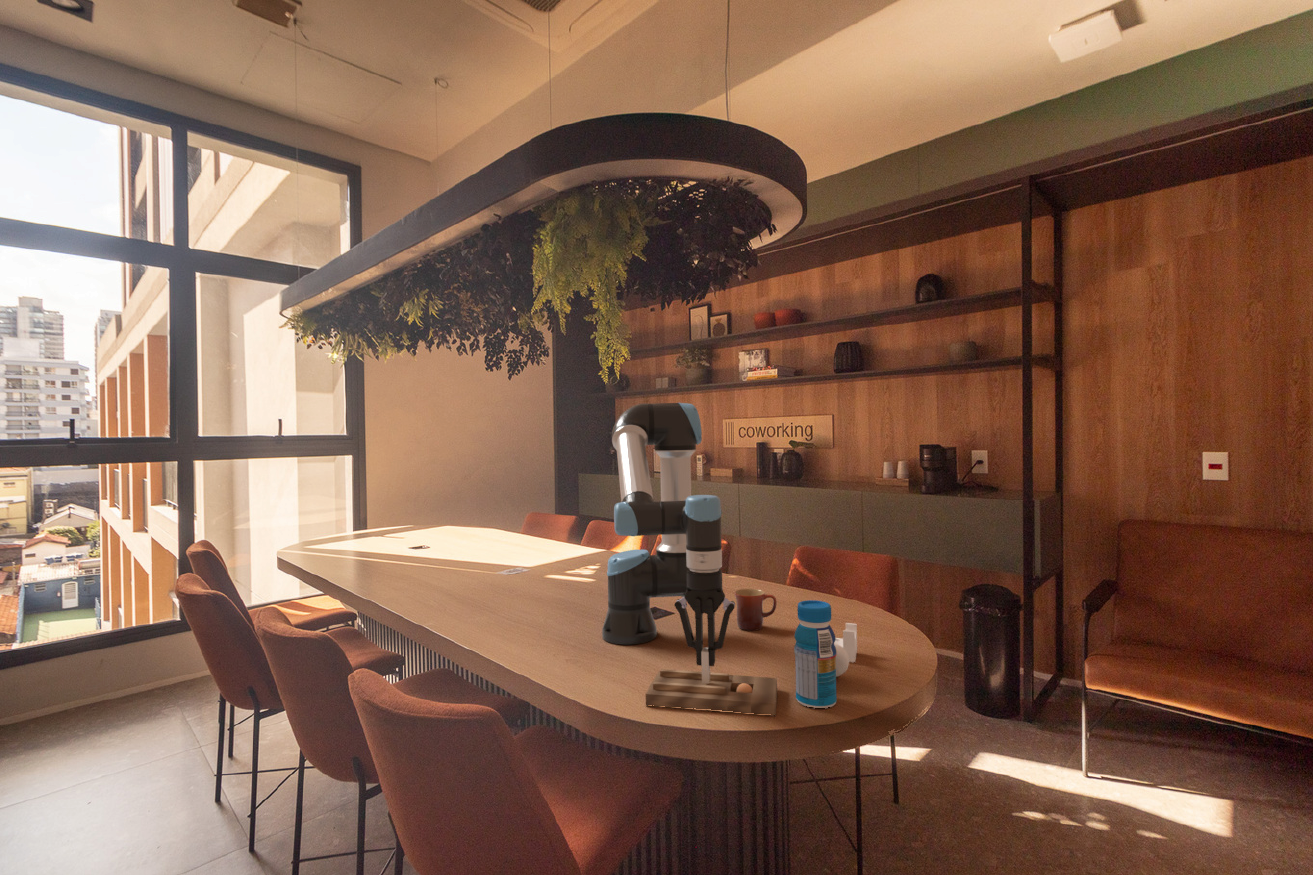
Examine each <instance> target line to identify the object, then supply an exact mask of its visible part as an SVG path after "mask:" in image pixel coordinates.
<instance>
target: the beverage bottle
mask: <svg viewBox="0 0 1313 875" xmlns="http://www.w3.org/2000/svg"><path fill="white" fill-rule="evenodd" d="M797 619H798V621H799V624H798V625H797V626H796V629H795V632H794V639H795V643H794V646H793V647H794V648H793V653H794V657H795V658H794V659H795V660H794V661H795V699H796V701H797V702H798V703H799V704H800V705H801V706H804V707H806V706H807V708H809V707H814V708H813V709H815V708H825V709H829V708H828V707H830V708H832V707H834V706H835V705H836V703H837V677H836V654H837V652H836V647H835V645H834V642H835V640H836V638H837V637H836V635H835V632H834V630H833V628H832V627H831V625H830V623H831V621H832V607H831V604H830V603H829V602H826V601H823V600H815V599H814V600H813V599H810V600H808V599H807V600H802V601H799V602H798V603H797Z"/></svg>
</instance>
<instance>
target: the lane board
mask: <svg viewBox="0 0 1313 875" xmlns="http://www.w3.org/2000/svg"><path fill="white" fill-rule="evenodd" d="M742 683H746V684H748V685H750V686H751V688H752V690H753V691H752V693H743V692H736V690H737V687H738V686H739V685H740V684H742ZM777 693H778V679H777V677H768V676H767V677H766V676H750V675H736V674H730V673H722V672H721V673H720V672H710V681H709V683H702V671H692V670H691V671H690V670H678V669H677V670H676V669H663V668H662V669H659V670H658V671H657V674H655V676H654V679H653V680H652V682H651V684H650V686H649V688H648V689H647V691H646V693H645V706H646V705H652V706H653V705H654V706H665V707H681V708H693V709H694V708H696V709H711V710H722V711H733V712H741V713H754V714H771V715H775V713H776V710H777V699H776V698H777V697H778V694H777ZM776 714H777V713H776ZM775 716H776V715H775Z"/></svg>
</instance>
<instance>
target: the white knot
mask: <svg viewBox="0 0 1313 875" xmlns="http://www.w3.org/2000/svg"><path fill="white" fill-rule="evenodd" d="M834 645H835V647H836V652H837V654H836V678H837V677H839V676H842V675H843V674H845V673H846V671H847V670H848V668H849V664H850V662H849V657H848V654H847V652H846V650H845V649H844V648H843V647H841V646H839V645H838V644H835V643H834Z"/></svg>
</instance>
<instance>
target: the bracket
mask: <svg viewBox="0 0 1313 875" xmlns="http://www.w3.org/2000/svg"><path fill="white" fill-rule="evenodd" d="M857 628H858V625H857V623H851V622H845V629H843V630H842V637H841V638H840V637H835V638H836V640H835V642H834V643H835V644H838V645H839V646H841V647H843V648H844V649H845V650H846V652H847V654H848V657H849V663H854V662H855V663H856V660H857V653H858V629H857Z"/></svg>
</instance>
